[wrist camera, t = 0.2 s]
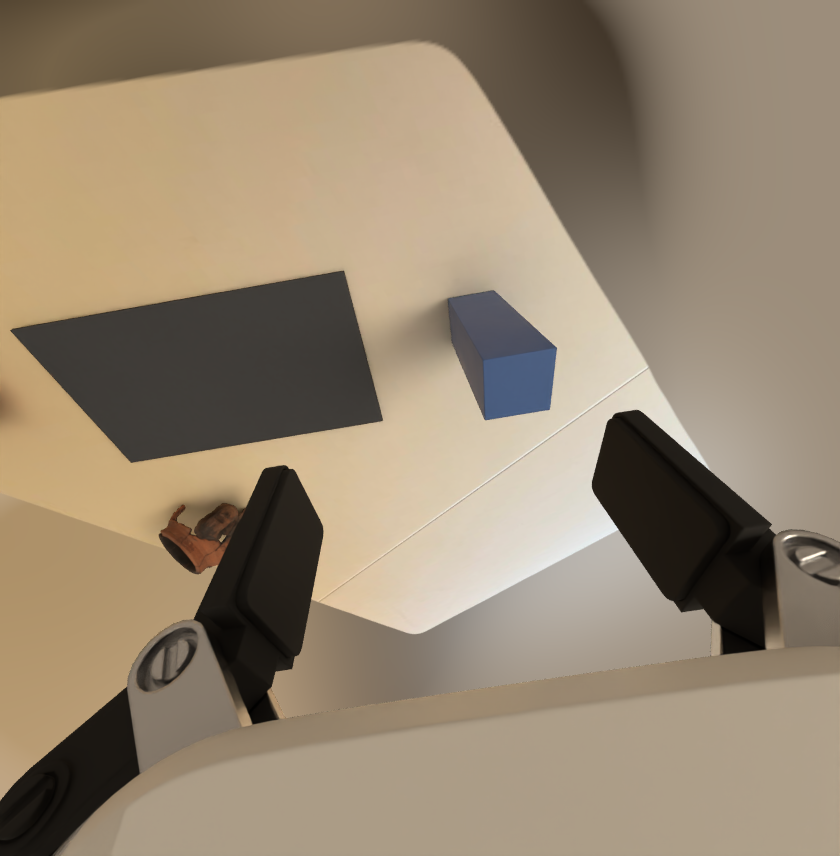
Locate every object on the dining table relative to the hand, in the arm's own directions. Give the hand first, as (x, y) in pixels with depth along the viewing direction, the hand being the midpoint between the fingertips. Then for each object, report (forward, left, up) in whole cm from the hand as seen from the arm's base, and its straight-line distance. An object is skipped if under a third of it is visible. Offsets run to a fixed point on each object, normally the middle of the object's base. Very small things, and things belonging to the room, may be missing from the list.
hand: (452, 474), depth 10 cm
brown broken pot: (+25, -31, -24) cm, 46 cm away
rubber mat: (+6, -20, -24) cm, 32 cm away
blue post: (+4, +6, -24) cm, 25 cm away
